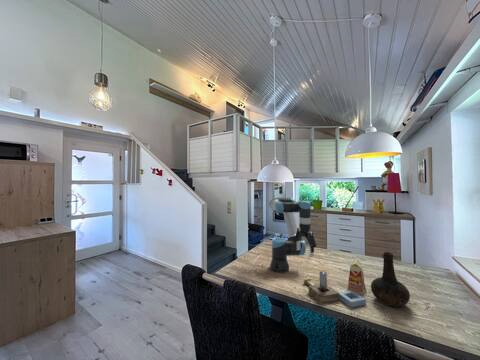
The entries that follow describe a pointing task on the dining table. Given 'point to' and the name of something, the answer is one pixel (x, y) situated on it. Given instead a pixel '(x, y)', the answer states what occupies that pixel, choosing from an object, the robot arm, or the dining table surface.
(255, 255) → the dining table surface
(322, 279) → the grey round-ended peg
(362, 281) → the milk carton
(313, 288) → the socket block
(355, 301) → the square frame
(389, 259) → the glass bottle
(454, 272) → the dining table surface
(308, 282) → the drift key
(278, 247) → the robot arm
